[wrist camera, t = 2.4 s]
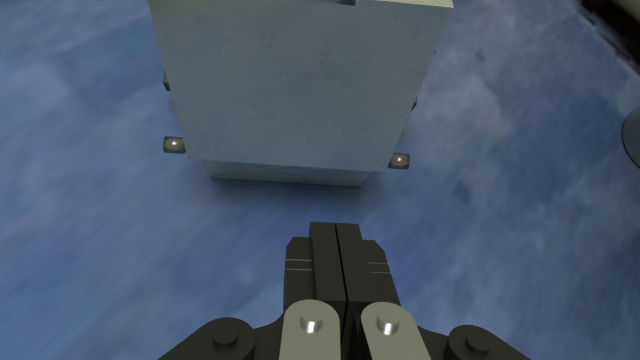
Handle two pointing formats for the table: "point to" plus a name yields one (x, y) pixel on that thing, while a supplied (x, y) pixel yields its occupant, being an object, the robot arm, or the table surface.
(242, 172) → the grey rectangular box
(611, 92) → the table surface
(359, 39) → the lid
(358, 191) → the table surface
